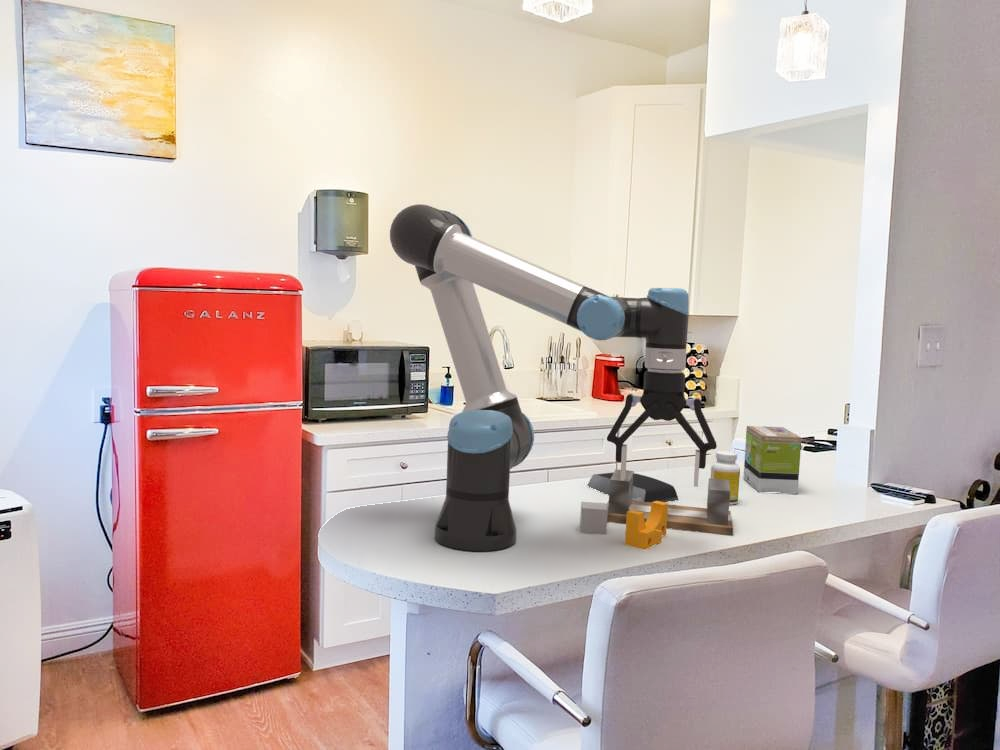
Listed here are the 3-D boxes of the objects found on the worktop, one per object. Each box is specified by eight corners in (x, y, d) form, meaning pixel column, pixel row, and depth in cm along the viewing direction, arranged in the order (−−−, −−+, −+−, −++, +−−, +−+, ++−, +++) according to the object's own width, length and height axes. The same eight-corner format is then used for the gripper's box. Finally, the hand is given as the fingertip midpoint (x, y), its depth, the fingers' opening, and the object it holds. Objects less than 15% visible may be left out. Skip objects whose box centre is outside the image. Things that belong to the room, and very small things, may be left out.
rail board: (602, 521, 164) (604, 480, 163) (609, 504, 178) (611, 467, 177) (732, 535, 158) (735, 493, 157) (729, 517, 172) (732, 479, 171)
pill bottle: (739, 506, 182) (743, 456, 181) (710, 504, 183) (714, 454, 182) (735, 499, 188) (739, 451, 187) (707, 497, 189) (711, 449, 188)
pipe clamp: (645, 550, 146) (647, 516, 146) (624, 545, 149) (626, 511, 148) (674, 537, 156) (676, 504, 155) (654, 532, 158) (656, 500, 158)
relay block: (580, 533, 155) (582, 508, 155) (579, 525, 160) (581, 501, 160) (606, 534, 155) (607, 509, 155) (604, 527, 160) (606, 503, 159)
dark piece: (640, 508, 178) (641, 490, 178) (584, 489, 194) (585, 472, 194) (680, 502, 185) (682, 484, 185) (623, 484, 201) (624, 468, 201)
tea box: (741, 479, 211) (745, 424, 210) (779, 481, 211) (784, 426, 210) (757, 493, 196) (762, 434, 195) (798, 495, 196) (803, 436, 195)
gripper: (595, 368, 148) (590, 480, 150) (734, 375, 142) (727, 492, 144) (600, 365, 155) (595, 472, 157) (733, 372, 149) (726, 483, 151)
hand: (659, 482), depth 151 cm, fingers open, 13 cm apart
